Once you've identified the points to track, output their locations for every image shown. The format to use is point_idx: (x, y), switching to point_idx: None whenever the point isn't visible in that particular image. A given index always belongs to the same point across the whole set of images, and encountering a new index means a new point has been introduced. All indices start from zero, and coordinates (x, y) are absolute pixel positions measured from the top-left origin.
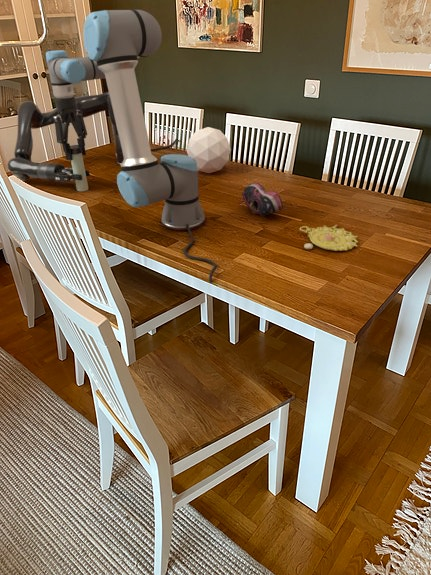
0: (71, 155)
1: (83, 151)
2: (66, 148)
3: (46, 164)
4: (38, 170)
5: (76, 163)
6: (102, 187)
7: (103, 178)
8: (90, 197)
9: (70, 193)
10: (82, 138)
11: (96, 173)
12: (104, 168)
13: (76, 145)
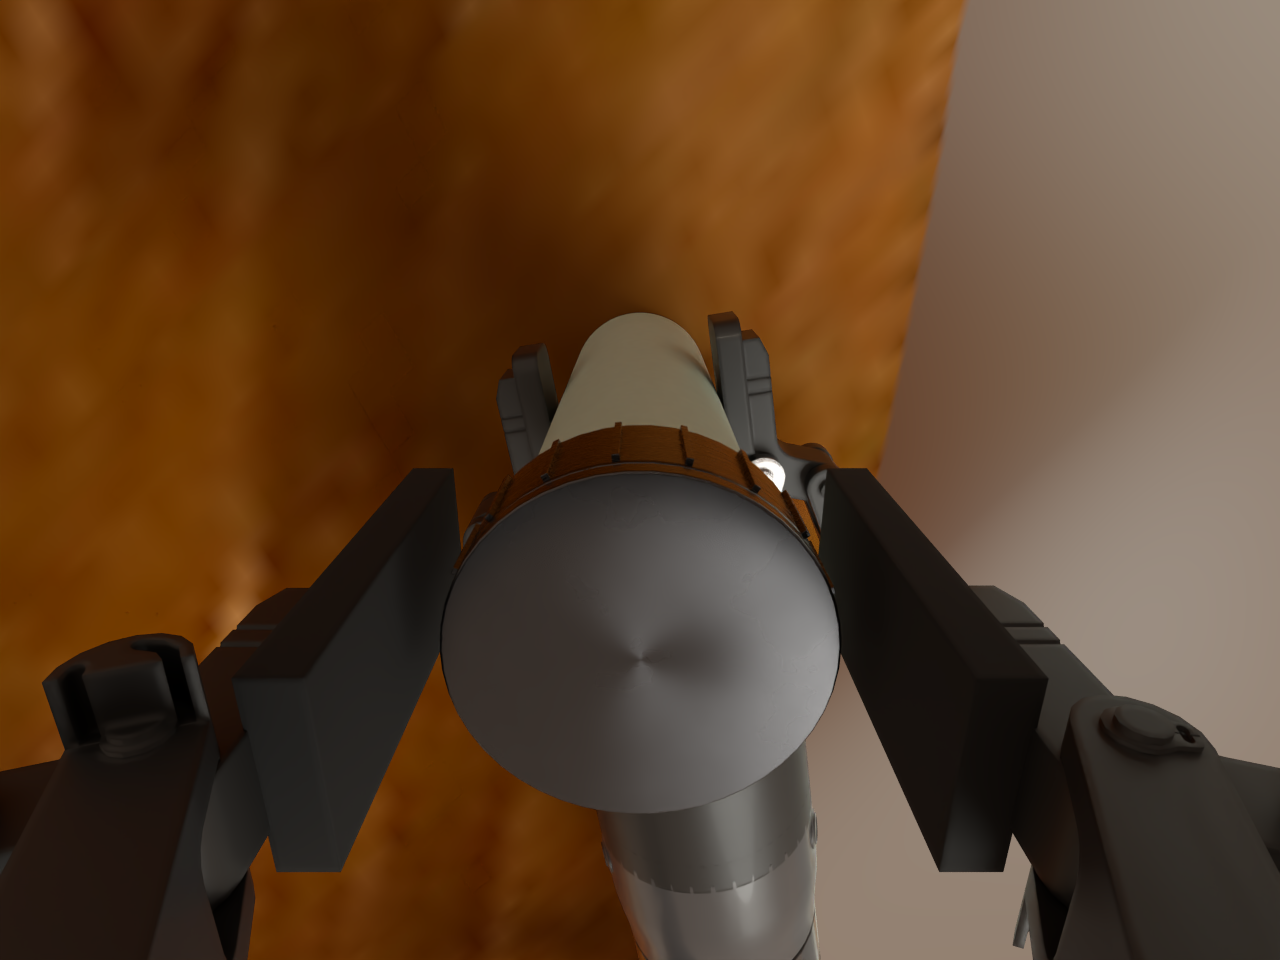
0: (867, 504)
1: (431, 522)
2: (1022, 642)
3: (751, 904)
4: (812, 904)
5: (731, 437)
6: (476, 204)
7: (244, 416)
8: (814, 93)
9: (789, 418)
10: (215, 731)
11: (179, 597)
12: (11, 630)
13: (508, 698)
